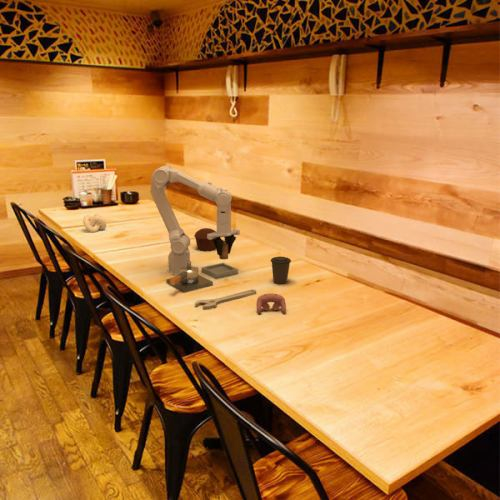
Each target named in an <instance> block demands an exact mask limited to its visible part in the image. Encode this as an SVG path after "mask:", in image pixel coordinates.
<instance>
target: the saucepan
mask: <svg viewBox="0 0 500 500" xmlns="http://www.w3.org/2000/svg"><path fill="white" fill-rule="evenodd" d="M198 275H199V268H198V267H196V266H192V261H191V260H190V261H187V267H182V268H181V269H180V274H178V275H177V276H175V275H174V277H171V278H172V279H170V278H169V279H170V284H171V285H175V284H177V283H178V282H180V281H181V282H183V283H195V282H197V281H198V280H199V278H198ZM171 285H170V286H171Z"/></svg>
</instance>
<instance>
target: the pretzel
mask: <svg viewBox="0 0 500 500" xmlns="http://www.w3.org/2000/svg"><path fill="white" fill-rule="evenodd" d="M82 221H83V225H84V227H85V229H86V230H87V231H88V232H90V233H96V232H98V231H103V230H106V228H107V222H106V220H105V219H104V218H103V217H102V215H101V214H100V213H94V215H93V216H92V215H91V214H86V215H85V216H84V217H83V219H82Z"/></svg>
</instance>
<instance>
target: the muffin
mask: <svg viewBox="0 0 500 500" xmlns="http://www.w3.org/2000/svg"><path fill="white" fill-rule="evenodd" d="M216 231H217V230H214V229H213V228H211V227H210V228H207V227H205V228H200V229H198V230H197V231H196V232H195V234H194V235H193V237H194V239H195V242H196V248H197V250H198V251H199V252H213V251H216V247H215V245H214V243H213V241H212V240H209V239H207V234H210V233H213V232H216Z"/></svg>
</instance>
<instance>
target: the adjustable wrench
mask: <svg viewBox="0 0 500 500" xmlns="http://www.w3.org/2000/svg"><path fill="white" fill-rule="evenodd" d="M253 295H257V290H256V289H248V290H245V291H241V292H236V293H233V294H229V295H225V296H222V297H217V298H213V299H199V300H196V301H195V302H194V308H198V307H199V306H202V310H203V311H205V310H206V311H207V310H212V309H216V308H217V306H218V305H220V304H223V303H228V302H232V301H236V300H239V299H242V298H246V297H247V298H248V297H250V296H253Z"/></svg>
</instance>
